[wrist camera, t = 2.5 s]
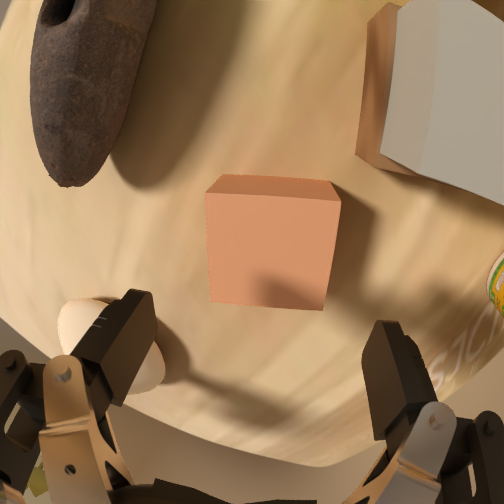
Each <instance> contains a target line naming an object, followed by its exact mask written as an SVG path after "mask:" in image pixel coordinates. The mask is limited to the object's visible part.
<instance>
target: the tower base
mask: <svg viewBox="0 0 504 504" xmlns="http://www.w3.org/2000/svg"><path fill="white" fill-rule="evenodd" d="M400 8H402V7H401V6H398V5H395V4H392V3H389V2H388V3H387V4H386V5H385V6H384V7H383V8H382V9H381V10H380V11H379V12H378V13H377V14H376V15H375V16H374V17H373V18H372V19H371V20H370V21H369V22H368V23H367V45H366V61H365V74H364V86H363V96H362V105H361V113H360V121H359V129H358V136H357V143H356V150H355V154H356V155H357V156H358V157H360V158H361V159H363V160H364V161H366V162H367V163H369V164H370V165H372V166H373V167H376V168H381V169H385V170H390V171H394V172H399V173H403V174H407V175H411V176H415V177H419V178H423V179H427V180H431V181H434V182H438V183H441V184H445V185H448V186H452V187H455V188H459V187H457V186H454V185H451V184H448V183H445V182H442V181H439V180H437V179H434V178H430V177H427V176H424V175H421V174H418V173H416V172H415V171H413V170H411V169H409V168H407V167H406V166H404V165H402V164H400V163H398V162H396V161H394V160H392V159H390V158H388V157H387V156H385V155H383V154H381V153H380V148H381V143H382V138H383V132H384V127H385V121H386V116H387V109H388V103H389V96H390V89H391V82H392V74H393V65H394V55H395V44H396V31H397V11H398V10H399V9H400ZM459 189H462V188H459ZM462 190H465V189H462ZM465 191H467V190H465ZM468 192H470V191H468ZM471 193H472V192H471ZM474 194H475V193H474ZM477 195H478V194H477Z"/></svg>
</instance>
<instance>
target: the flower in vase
mask: <svg viewBox="0 0 504 504" xmlns="http://www.w3.org/2000/svg"><path fill="white" fill-rule="evenodd" d="M107 305H109V304H107V303H104V302H102V301H98V300H94V299H75V300H71V301H69V302H67V303H66V304H64V306H63V307H62V309H61V311H60V314H59V318H58V332H59V338H60V342H61V346H62V349H63V352H64V354H65V355H69V354H70V353H71V352H72V351H73V349H74V348H75V346H76V345H77V344H78V342H79V341H80V340H81V338H82V337H83V335H84V334H85V333H86V331H87V330H88V329H89V327H90V326H92V323H93V322H94V321H95V320H96V318H98V316H99V314H100V313H101V312H102V311H103V309H104V308H105V307H106V306H107ZM165 370H166V368H165V363H164V360H163V357H162V354H161V351H160V349H159V347H158V346H157V344H156V343H155V341H154V342H153V344H152V346H151V347H150V349H149V351H148V353H147V355H146V357H145V359H144V361H143V363H142V365H141V367H140V369H139V371H138V373H137V375H136V377H135V379H134V381H133V383H132V385H131V387H130V389H129V391H128V393H127V395H133V394H139V393H143V392H147V391H150V390H152V389H154V388H155V387H156V386H157V385H159V384H160V383H161V382H162V381H163V379H164V377H165ZM40 453H41V452H40ZM42 469H43V461H42V462H41V464H40V465H39V467H38V468H37V467H34V468H33V471H32V473H31V476H30V478H29V481H28V483H27V486H26V489H27V488H28V487H29V488H30V489H31V491H32V493H33V495H34V496H35V497H37V496H39V495H41V494H43V493H44V492H46V491H48V490H49V489H48V485H47V481H46V476H45V472H44V470H42ZM26 489H25V490H26Z"/></svg>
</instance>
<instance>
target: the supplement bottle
mask: <svg viewBox="0 0 504 504" xmlns="http://www.w3.org/2000/svg"><path fill="white" fill-rule="evenodd" d="M487 294H488V296H489V298H490V299H491V301H492V302H493V304H494V305H495V306H496V308H497V309H498V310H499V312H500V313H501V314H502V316H503V317H504V252H503V253H502V254H501V255H500V256H499V257H498V259H497V260H496V262H495V263H494V265H493V267H492V269H491V271H490V273H489V276H488V280H487Z"/></svg>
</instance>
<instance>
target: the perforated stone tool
mask: <svg viewBox="0 0 504 504" xmlns="http://www.w3.org/2000/svg"><path fill="white" fill-rule="evenodd" d="M157 2H158V0H44V1H43V3H42V6H41V9H40V12H39V15H38V19H37V24H36V29H35V34H34V40H33V47H32V54H31V65H30V106H31V115H32V123H33V131H34V136H35V140H36V144H37V148H38V151H39V154H40V157H41V159H42V162H43V163H44V166H45V167H46V170H47V171H48V173H49V176H51V178H52V179H53V180H54V181H56V182H57V183H58V185H59V186H60V187H67V188H68V187H71V186H75V187H79V186H80V187H81V186H83V185H85V184H86V183H88V182H89V181H90V180H91V179H92V178H93V177H94V176H95V175H96V174H97V173H98V172H99V170H100V169H101V167H102V165H103V164H104V162H105V161H106V159H107V157H108V155H109V154H110V152H111V150H112V148H113V145H114V143H115V141H116V139H117V137H118V134H119V132H120V129H121V126H122V124H123V121H124V117H125V115H126V111H127V108H128V104H129V100H130V97H131V93H132V89H133V85H134V81H135V78H136V74H137V71H138V67H139V63H140V60H141V56H142V53H143V49H144V46H145V43H146V40H147V37H148V33H149V27H150V25H151V23H152V21H153V18H154V14H155V9H156V5H157Z"/></svg>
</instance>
